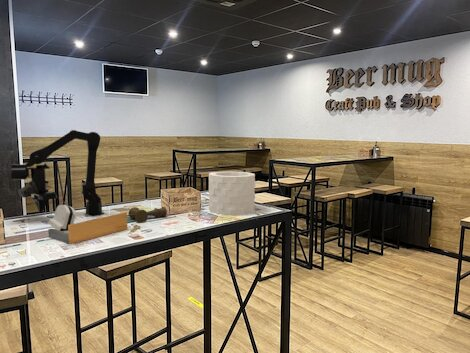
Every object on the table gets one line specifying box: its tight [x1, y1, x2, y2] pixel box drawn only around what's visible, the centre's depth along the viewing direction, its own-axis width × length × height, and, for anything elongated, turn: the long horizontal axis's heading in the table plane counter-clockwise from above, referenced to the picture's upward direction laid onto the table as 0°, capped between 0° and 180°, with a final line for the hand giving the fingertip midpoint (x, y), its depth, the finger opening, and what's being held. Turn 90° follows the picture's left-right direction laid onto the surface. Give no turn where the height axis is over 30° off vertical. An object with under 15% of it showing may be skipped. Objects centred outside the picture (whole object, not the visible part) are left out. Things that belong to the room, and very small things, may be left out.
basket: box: [208, 170, 256, 216], centre depth 186 cm, size 25×24×19 cm
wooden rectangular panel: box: [48, 211, 128, 245], centre depth 144 cm, size 25×15×7 cm, turn 145°
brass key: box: [129, 225, 141, 233], centre depth 149 cm, size 7×3×1 cm, turn 175°
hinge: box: [48, 204, 76, 231], centre depth 153 cm, size 17×5×10 cm, turn 40°
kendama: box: [127, 206, 168, 224], centre depth 166 cm, size 6×10×20 cm
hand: (40, 212), depth 164 cm, fingers closed
